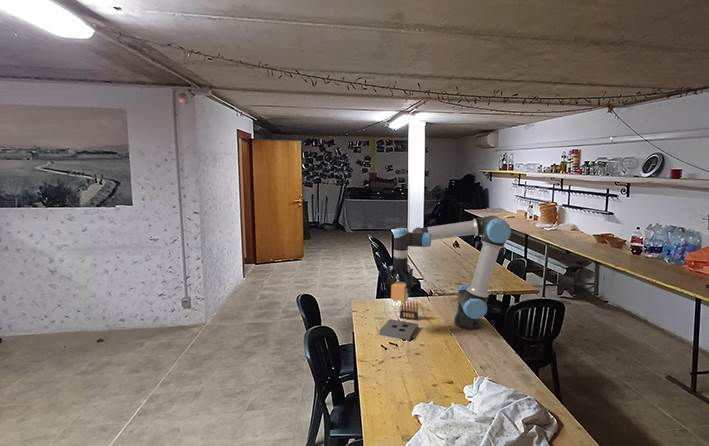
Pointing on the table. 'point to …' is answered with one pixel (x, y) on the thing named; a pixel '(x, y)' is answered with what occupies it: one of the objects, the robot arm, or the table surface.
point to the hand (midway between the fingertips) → (399, 298)
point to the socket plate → (399, 329)
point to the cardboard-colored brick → (398, 291)
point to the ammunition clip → (409, 311)
